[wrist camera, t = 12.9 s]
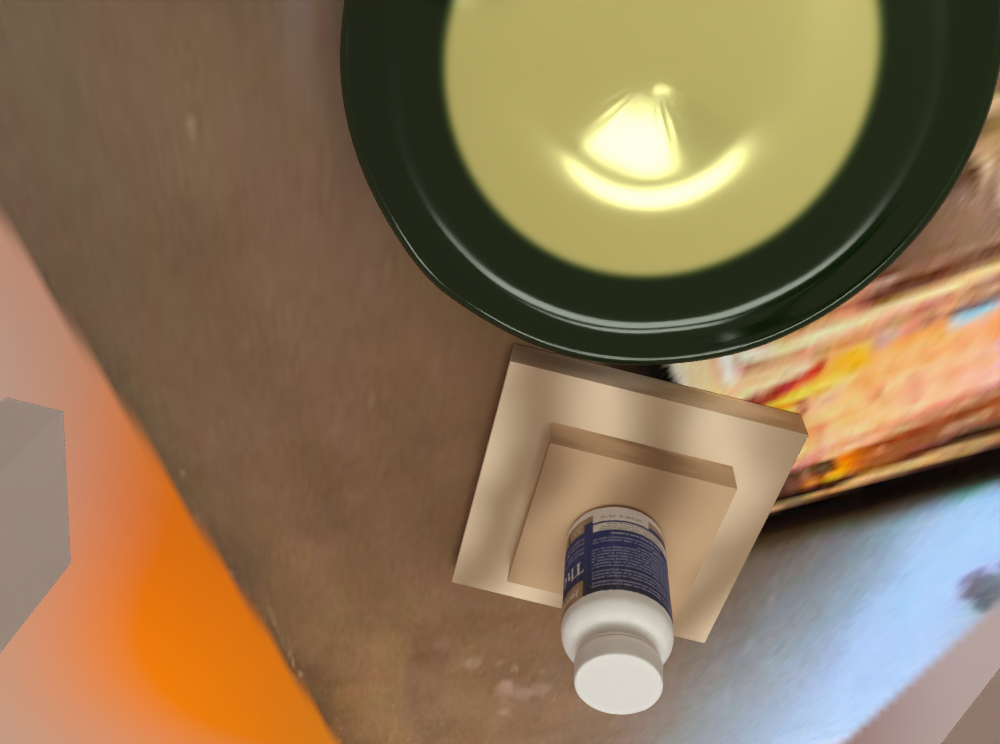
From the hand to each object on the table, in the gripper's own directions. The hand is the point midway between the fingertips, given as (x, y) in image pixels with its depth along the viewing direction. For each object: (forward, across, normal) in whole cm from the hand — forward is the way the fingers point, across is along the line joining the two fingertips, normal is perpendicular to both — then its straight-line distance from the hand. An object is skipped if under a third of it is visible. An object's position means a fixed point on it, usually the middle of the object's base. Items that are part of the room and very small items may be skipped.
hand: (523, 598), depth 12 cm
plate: (+32, +3, +2) cm, 32 cm away
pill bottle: (+28, +8, -21) cm, 36 cm away
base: (+32, +8, -21) cm, 39 cm away
